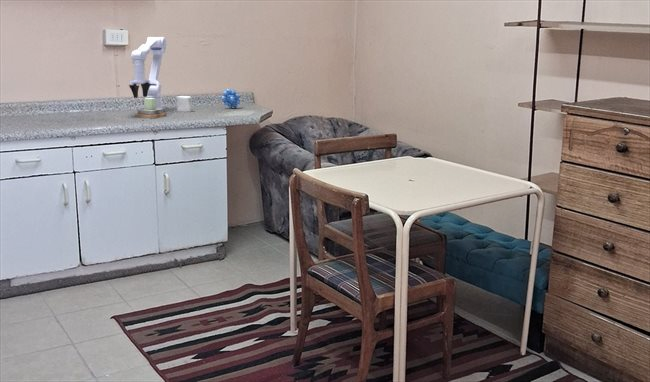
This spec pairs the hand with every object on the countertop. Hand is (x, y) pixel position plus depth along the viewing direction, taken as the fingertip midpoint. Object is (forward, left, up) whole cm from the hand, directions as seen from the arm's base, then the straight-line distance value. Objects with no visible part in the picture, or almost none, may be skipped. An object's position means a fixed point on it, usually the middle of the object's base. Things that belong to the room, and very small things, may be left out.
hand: (140, 97), depth 401 cm
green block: (0, +7, -6) cm, 9 cm away
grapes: (-53, +24, -11) cm, 59 cm away
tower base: (0, +7, -11) cm, 13 cm away
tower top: (0, +7, -9) cm, 11 cm away
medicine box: (-28, +8, -11) cm, 31 cm away
